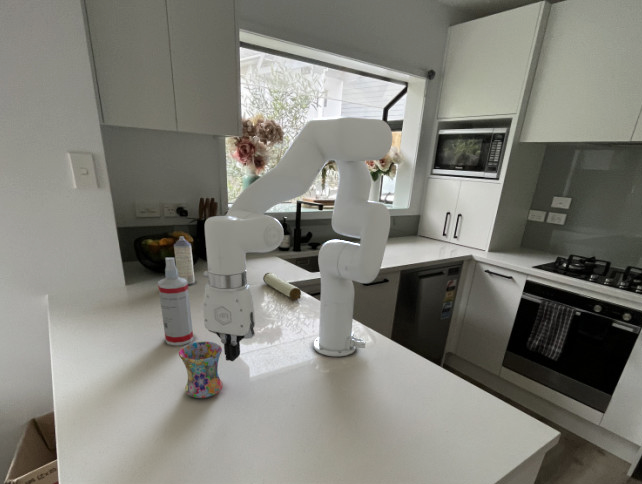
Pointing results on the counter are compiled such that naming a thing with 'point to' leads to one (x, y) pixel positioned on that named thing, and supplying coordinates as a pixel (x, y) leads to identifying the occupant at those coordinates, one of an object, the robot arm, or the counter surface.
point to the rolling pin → (282, 286)
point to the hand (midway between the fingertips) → (232, 358)
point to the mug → (202, 368)
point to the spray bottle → (175, 306)
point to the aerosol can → (184, 260)
